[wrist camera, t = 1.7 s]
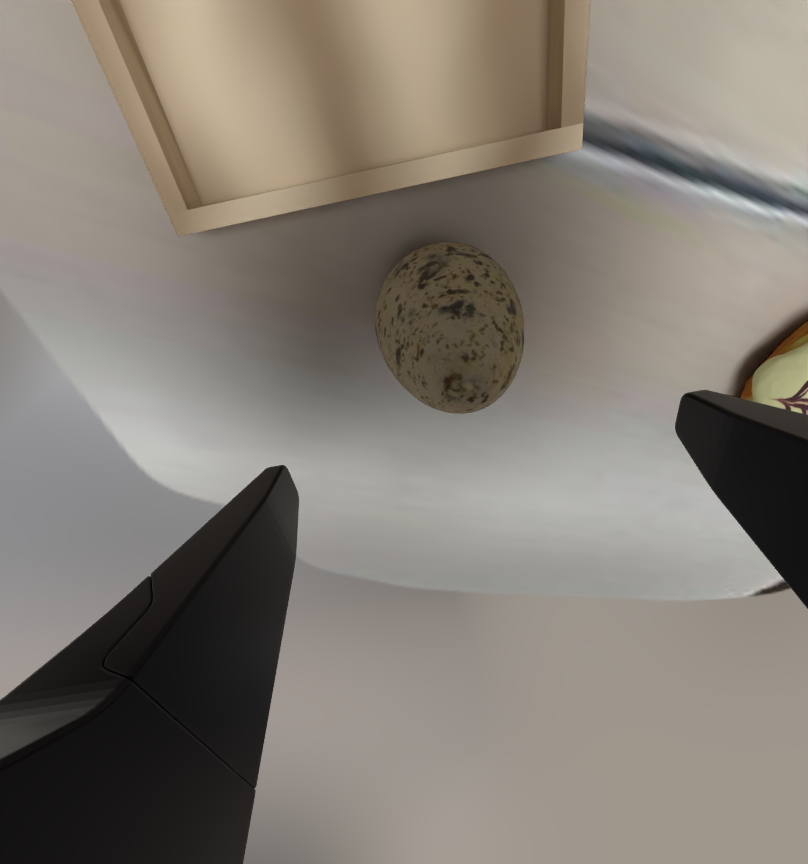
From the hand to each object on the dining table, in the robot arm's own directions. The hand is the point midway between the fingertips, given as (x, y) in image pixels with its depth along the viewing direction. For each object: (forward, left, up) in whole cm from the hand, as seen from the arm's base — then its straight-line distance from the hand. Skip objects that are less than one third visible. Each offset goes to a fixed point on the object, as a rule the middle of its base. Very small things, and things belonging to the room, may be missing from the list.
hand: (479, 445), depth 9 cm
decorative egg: (0, 0, -14) cm, 14 cm away
